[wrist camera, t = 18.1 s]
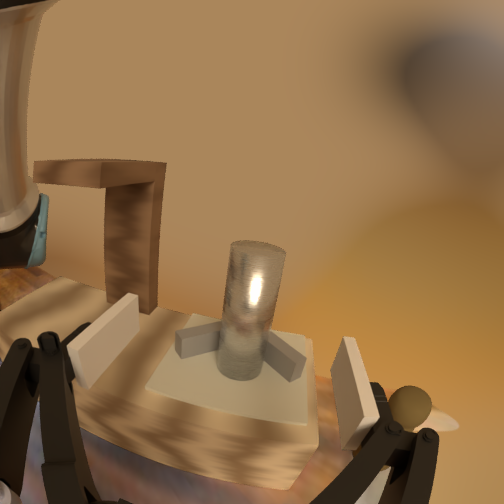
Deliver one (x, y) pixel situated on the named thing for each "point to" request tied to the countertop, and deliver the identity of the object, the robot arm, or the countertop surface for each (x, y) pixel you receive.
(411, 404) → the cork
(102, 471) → the countertop surface
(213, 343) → the v cradle
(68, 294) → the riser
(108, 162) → the brown wooden l bracket
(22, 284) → the countertop surface
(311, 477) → the countertop surface
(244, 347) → the axle
